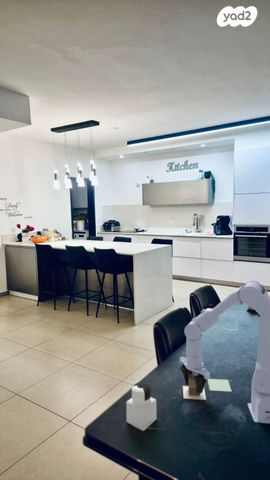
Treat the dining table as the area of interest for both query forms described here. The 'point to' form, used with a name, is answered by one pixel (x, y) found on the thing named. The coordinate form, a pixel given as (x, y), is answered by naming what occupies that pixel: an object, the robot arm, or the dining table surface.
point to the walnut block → (192, 385)
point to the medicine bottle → (141, 407)
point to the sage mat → (219, 385)
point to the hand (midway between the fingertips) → (194, 388)
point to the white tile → (187, 396)
